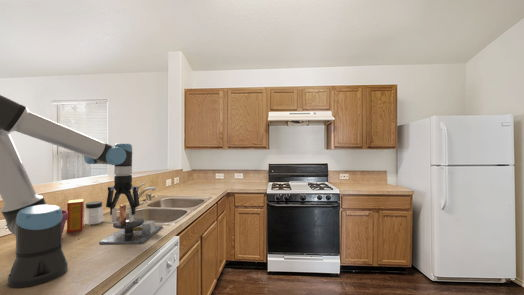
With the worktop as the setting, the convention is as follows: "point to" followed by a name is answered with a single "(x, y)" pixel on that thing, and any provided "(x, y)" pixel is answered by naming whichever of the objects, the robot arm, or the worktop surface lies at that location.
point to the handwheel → (126, 224)
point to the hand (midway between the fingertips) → (122, 221)
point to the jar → (93, 213)
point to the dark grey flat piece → (133, 235)
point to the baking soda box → (75, 215)
